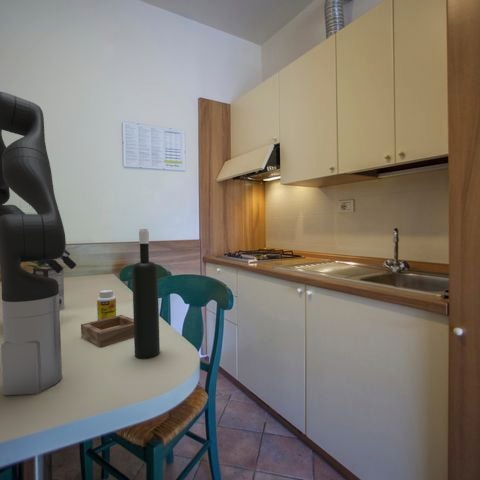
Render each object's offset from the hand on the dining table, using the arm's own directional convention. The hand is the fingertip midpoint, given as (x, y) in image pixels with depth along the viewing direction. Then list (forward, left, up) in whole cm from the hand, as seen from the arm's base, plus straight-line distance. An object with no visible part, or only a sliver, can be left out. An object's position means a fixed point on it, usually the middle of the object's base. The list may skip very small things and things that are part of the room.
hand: (68, 268), depth 98 cm
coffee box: (+19, +16, -18) cm, 31 cm away
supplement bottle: (0, -12, -18) cm, 21 cm away
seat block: (-13, -18, -18) cm, 28 cm away
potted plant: (+56, +39, -18) cm, 71 cm away
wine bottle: (-27, -31, -18) cm, 45 cm away
